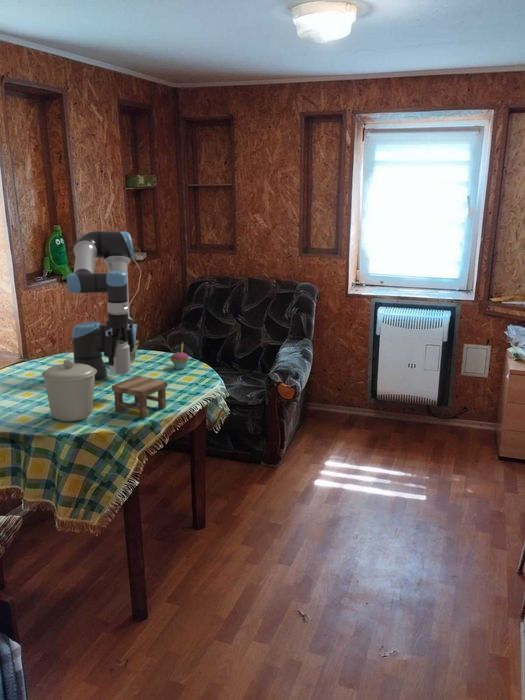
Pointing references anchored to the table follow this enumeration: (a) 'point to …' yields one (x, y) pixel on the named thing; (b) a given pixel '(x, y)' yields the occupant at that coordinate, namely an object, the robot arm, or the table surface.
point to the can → (122, 357)
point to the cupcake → (179, 359)
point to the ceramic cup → (134, 352)
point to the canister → (70, 390)
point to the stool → (140, 393)
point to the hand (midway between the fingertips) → (120, 370)
